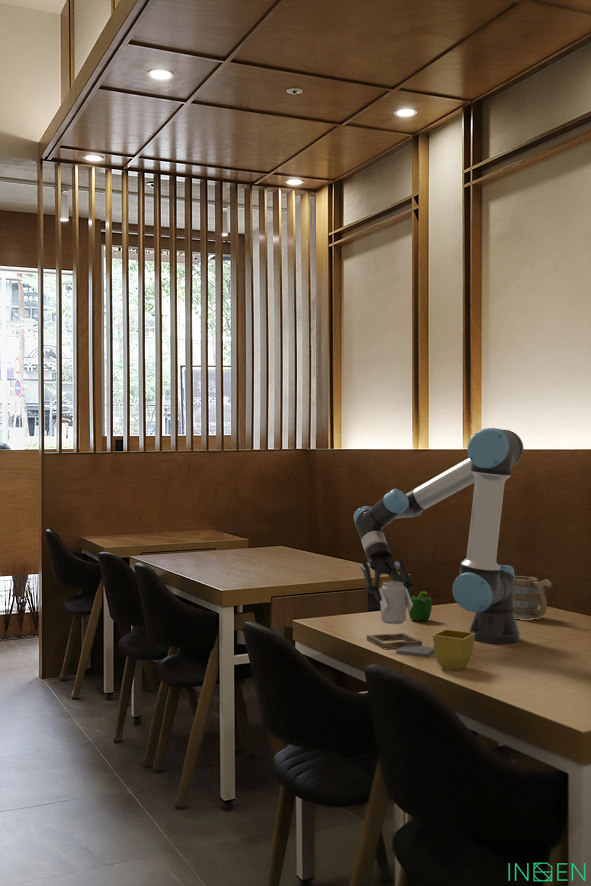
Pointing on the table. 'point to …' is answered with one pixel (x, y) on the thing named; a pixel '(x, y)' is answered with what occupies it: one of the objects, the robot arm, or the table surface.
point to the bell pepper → (421, 607)
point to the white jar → (394, 602)
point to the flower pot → (453, 648)
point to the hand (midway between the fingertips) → (398, 608)
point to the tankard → (529, 597)
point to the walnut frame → (378, 637)
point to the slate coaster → (415, 650)
